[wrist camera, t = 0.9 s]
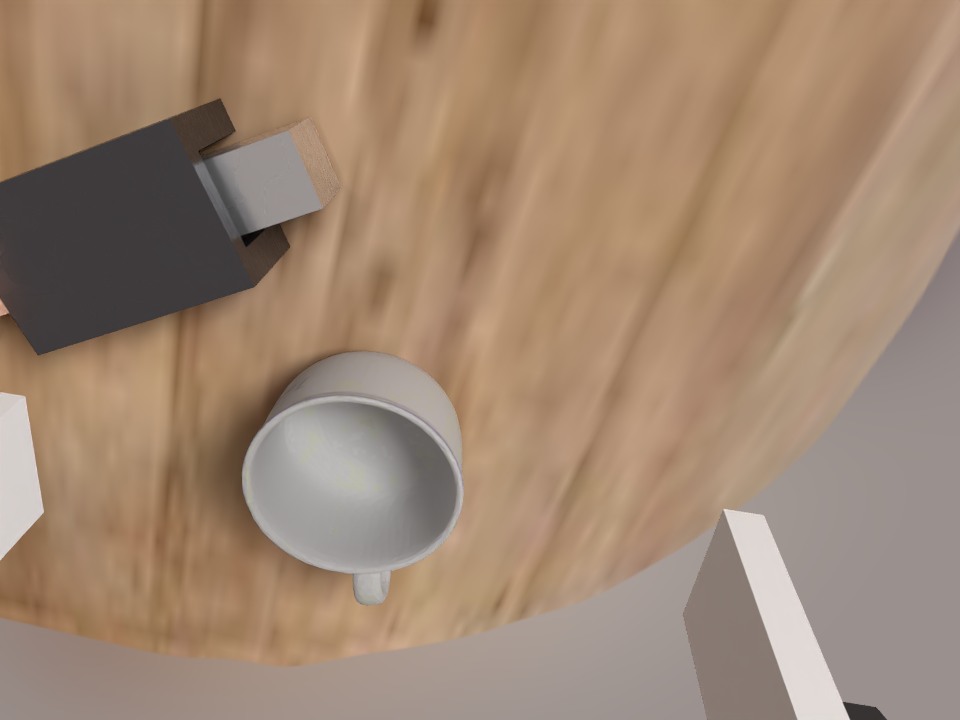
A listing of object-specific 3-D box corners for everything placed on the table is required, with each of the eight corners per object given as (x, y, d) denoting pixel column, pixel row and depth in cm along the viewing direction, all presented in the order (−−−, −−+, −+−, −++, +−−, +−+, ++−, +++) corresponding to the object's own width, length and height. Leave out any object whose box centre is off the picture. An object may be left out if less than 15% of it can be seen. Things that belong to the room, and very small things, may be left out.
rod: (-160, 261, 41) (-369, 348, 31) (300, 90, 35) (214, 133, 25) (-89, 355, 43) (-263, 461, 34) (351, 210, 37) (289, 289, 28)
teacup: (292, 311, 41) (241, 383, 34) (487, 345, 41) (477, 423, 34) (283, 509, 47) (239, 604, 40) (452, 538, 47) (438, 637, 40)
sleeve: (15, 175, 38) (-62, 206, 33) (220, 98, 36) (169, 118, 31) (97, 309, 41) (38, 355, 36) (290, 247, 39) (254, 286, 34)
